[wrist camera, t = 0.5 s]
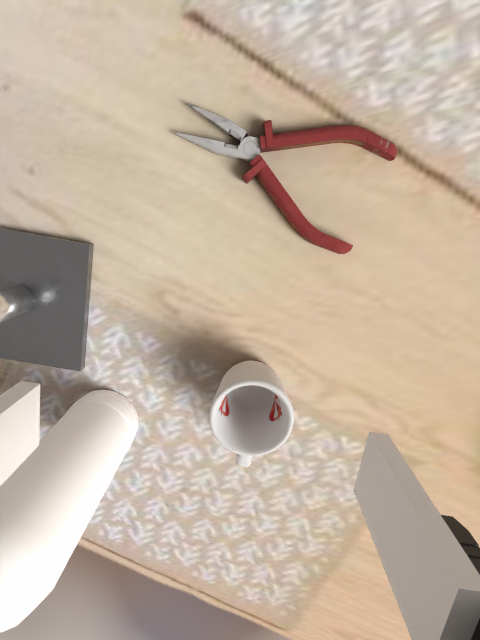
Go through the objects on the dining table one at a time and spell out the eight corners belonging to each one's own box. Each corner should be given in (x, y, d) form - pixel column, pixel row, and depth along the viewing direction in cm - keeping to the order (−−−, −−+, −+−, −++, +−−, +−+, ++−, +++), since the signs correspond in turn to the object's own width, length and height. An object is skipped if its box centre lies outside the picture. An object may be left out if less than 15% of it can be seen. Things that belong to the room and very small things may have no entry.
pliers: (204, 59, 35) (200, 47, 33) (395, 148, 37) (406, 142, 34) (163, 179, 38) (157, 176, 36) (343, 257, 40) (349, 259, 37)
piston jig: (-41, 220, 39) (-113, 219, 31) (93, 243, 39) (55, 249, 32) (-40, 346, 43) (-104, 374, 35) (84, 367, 43) (48, 399, 35)
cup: (276, 441, 45) (282, 487, 37) (209, 433, 45) (201, 477, 37) (291, 356, 42) (300, 386, 34) (220, 346, 42) (213, 375, 34)
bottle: (96, 458, 46) (-168, 869, 17) (59, 406, 44) (-307, 760, 15) (152, 431, 45) (-27, 820, 16) (116, 376, 43) (-160, 696, 14)
